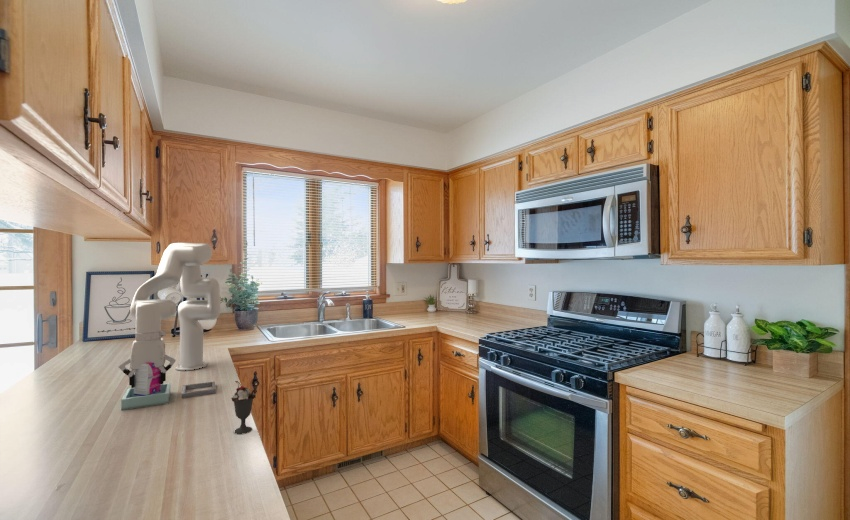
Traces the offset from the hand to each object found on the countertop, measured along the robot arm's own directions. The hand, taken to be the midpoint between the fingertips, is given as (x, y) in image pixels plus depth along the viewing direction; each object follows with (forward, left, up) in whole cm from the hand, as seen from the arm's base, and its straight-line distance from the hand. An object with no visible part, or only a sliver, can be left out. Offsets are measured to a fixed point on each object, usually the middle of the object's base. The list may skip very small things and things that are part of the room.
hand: (147, 384), depth 139 cm
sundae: (+43, +27, -6) cm, 52 cm away
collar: (-3, +16, -6) cm, 17 cm away
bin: (0, 0, -6) cm, 6 cm away
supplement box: (0, 0, -3) cm, 3 cm away
